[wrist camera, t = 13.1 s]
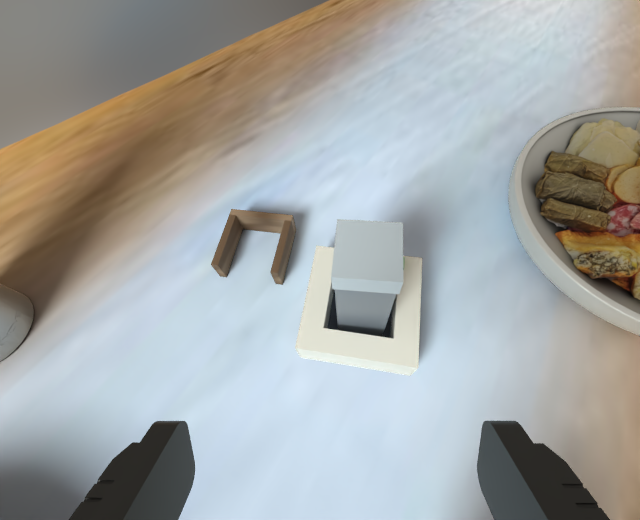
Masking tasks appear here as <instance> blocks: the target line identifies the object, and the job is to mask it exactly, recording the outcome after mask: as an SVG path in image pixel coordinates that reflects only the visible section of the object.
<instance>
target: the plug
mask: <svg viewBox="0 0 640 520" xmlns="http://www.w3.org/2000/svg"><path fill="white" fill-rule="evenodd" d="M331 282H332V289H335V299H336V311H337V323H338V330H340V331H347V332H353V333H360V334H367V335H373V336H380V337H382V336H383V333H384V330H385V327H386V324H387V321H388V318H389V315H390V312H391V309H392V306H393V303H394V300H395V297H396V294H399V293H400V291H401V288H402V285H403V223H401V222H381V221H361V220H341V219H337V227H336V236H335V245H334V255H333V264H332V273H331Z"/></svg>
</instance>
